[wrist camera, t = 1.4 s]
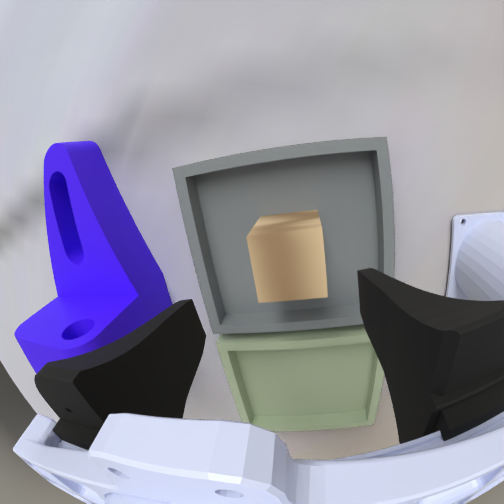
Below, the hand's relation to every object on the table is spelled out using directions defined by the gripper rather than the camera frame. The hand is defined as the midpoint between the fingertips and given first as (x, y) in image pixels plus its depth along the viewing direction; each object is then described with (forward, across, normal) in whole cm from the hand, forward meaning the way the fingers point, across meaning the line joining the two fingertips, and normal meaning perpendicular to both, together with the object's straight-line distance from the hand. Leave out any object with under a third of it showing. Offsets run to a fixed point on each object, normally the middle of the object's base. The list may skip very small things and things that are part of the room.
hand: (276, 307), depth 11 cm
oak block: (+9, -1, 0) cm, 9 cm away
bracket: (+11, +16, -4) cm, 20 cm away
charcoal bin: (+10, -1, 0) cm, 10 cm away
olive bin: (+9, 0, +14) cm, 17 cm away
